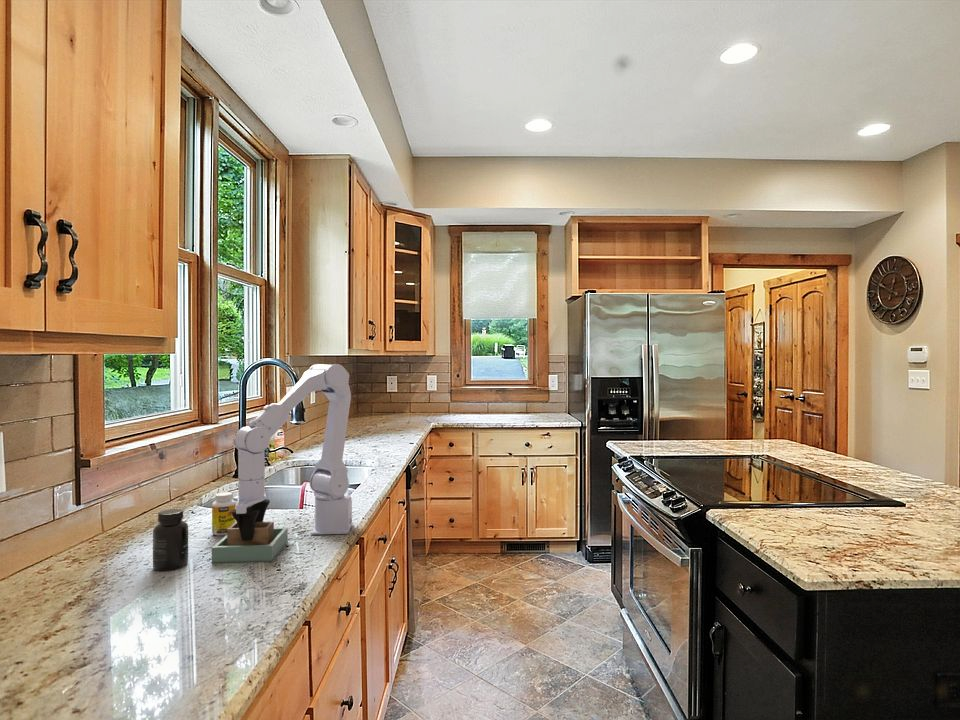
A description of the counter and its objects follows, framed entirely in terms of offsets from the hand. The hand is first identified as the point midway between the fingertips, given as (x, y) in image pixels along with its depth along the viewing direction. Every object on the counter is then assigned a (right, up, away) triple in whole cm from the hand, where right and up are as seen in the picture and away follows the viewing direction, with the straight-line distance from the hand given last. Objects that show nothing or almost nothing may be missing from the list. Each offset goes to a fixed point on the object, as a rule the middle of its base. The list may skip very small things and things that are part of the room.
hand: (251, 535), depth 127 cm
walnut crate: (0, -4, 0) cm, 4 cm away
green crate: (0, -4, 0) cm, 4 cm away
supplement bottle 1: (-14, -4, -8) cm, 17 cm away
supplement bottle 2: (-13, -4, +14) cm, 20 cm away
